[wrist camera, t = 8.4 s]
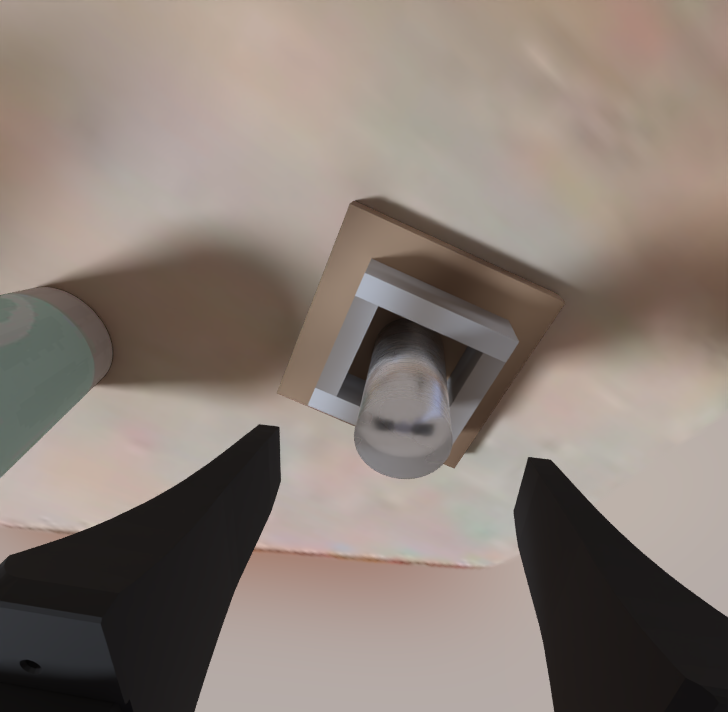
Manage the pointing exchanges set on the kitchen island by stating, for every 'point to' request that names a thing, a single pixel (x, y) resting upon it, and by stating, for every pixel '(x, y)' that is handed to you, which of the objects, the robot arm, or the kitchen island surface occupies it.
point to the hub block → (415, 320)
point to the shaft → (405, 403)
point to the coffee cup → (45, 364)
